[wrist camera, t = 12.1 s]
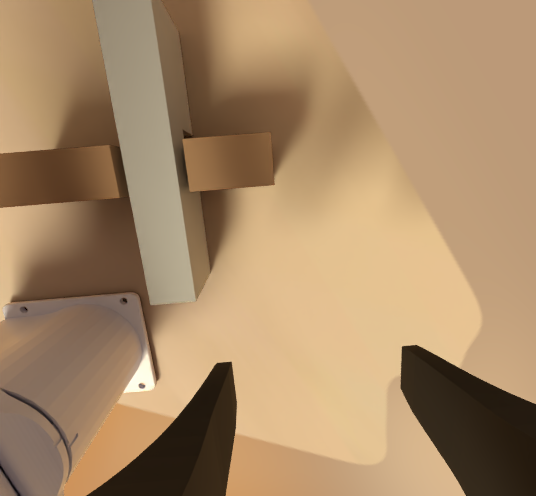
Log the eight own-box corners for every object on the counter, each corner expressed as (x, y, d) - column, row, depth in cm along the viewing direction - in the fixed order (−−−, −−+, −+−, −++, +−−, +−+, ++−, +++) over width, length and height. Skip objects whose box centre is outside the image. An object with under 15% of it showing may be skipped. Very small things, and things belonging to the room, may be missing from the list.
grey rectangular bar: (210, 272, 21) (195, 301, 16) (175, 275, 21) (150, 305, 16) (178, 32, 17) (147, -26, 12) (136, 35, 17) (88, -22, 12)
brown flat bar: (60, 200, 19) (-7, 208, 14) (51, 161, 18) (-23, 155, 14) (270, 183, 19) (274, 184, 14) (267, 143, 19) (270, 132, 14)
